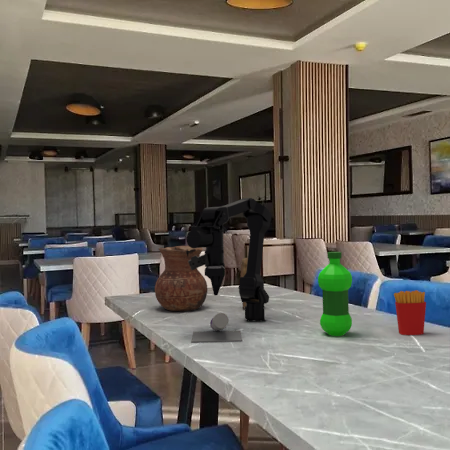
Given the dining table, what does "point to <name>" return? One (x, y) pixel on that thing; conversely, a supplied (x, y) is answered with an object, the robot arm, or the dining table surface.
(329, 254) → the plastic bottle
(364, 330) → the dining table surface
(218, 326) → the container
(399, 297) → the french fries
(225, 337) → the mat
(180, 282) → the jug
